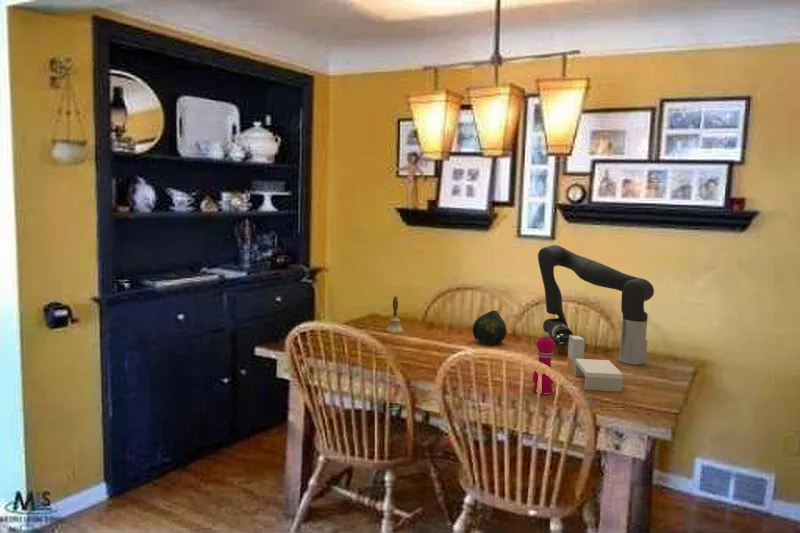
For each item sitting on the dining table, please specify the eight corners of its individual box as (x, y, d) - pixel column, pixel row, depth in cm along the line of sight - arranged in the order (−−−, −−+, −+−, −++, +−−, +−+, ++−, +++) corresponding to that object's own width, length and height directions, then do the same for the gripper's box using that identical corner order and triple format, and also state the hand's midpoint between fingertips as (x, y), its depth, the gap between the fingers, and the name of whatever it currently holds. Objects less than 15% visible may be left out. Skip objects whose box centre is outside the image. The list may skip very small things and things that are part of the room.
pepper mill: (554, 396, 208) (558, 335, 206) (531, 393, 210) (535, 333, 207) (553, 389, 215) (557, 331, 213) (531, 387, 217) (535, 329, 214)
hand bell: (403, 333, 291) (404, 298, 289) (385, 332, 291) (386, 297, 289) (403, 329, 299) (405, 295, 297) (385, 328, 299) (387, 294, 297)
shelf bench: (607, 376, 234) (609, 360, 233) (621, 391, 216) (622, 374, 215) (574, 374, 234) (575, 358, 234) (585, 389, 217) (586, 372, 216)
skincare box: (566, 365, 246) (568, 335, 245) (577, 366, 246) (579, 335, 245) (572, 370, 240) (574, 339, 239) (583, 370, 240) (585, 339, 239)
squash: (463, 331, 273) (488, 307, 270) (469, 326, 288) (493, 303, 284) (487, 356, 271) (512, 332, 268) (491, 349, 286) (516, 326, 282)
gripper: (545, 324, 270) (552, 333, 253) (580, 326, 269) (588, 335, 253) (544, 342, 270) (550, 352, 254) (578, 344, 270) (587, 354, 254)
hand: (569, 343), depth 254 cm, fingers open, 8 cm apart
